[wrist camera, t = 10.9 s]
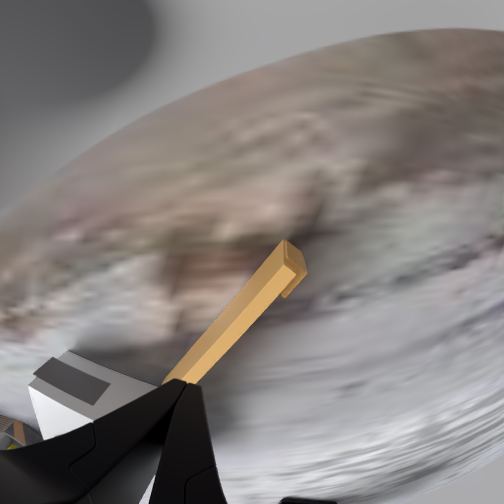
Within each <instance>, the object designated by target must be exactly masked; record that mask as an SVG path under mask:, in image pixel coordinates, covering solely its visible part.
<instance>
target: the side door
mask: <svg viewBox="0 0 504 504" xmlns="http://www.w3.org/2000/svg"><path fill="white" fill-rule="evenodd" d="M307 273H308V272H307V268H306V264H305V260H304V257H303V253H302V252H301V251H300V250H298V249H297V248H296V247H295V246H293V245H292V244H291V243H290V242H289V241H287V240H286V241H285V240H284V239H283V240H282V241H281V243H280V244H279V245H278V246H277V247H276V248H275V250H274V251H273V252H272V253H271V254H270V256H269V257H268V258H267V259H266V260H265V262H264V263H263V264H262V265H261V266H260V268H259V269H258V270H257V271H256V272H255V273H254V275H253V276H252V277H251V278H250V279H249V281H248V282H247V283H246V284H245V285H244V287H243V288H242V289H241V290H240V291H239V292H238V294H237V295H236V296H235V297H234V298H233V299H232V301H231V302H230V303H229V304H228V305H227V307H226V308H225V309H224V310H223V311H222V312H221V314H220V315H219V316H218V317H217V318H216V319H215V321H214V322H213V323H212V324H211V325H210V326H209V328H208V329H207V330H206V331H205V332H204V333H203V335H202V336H201V337H200V338H199V339H198V340H197V342H196V343H195V344H194V345H193V346H192V347H191V348H190V350H189V351H188V352H187V353H186V354H185V355H184V357H183V358H182V359H181V360H180V361H179V362H178V364H177V365H176V366H175V367H174V368H173V369H172V370H171V372H170V373H169V374H168V375H167V376H166V377H165V379H164V381H163V382H162V384H164V383H166V382H168V381H170V380H171V379H173V378H177V379H180V380H184V381H186V382H187V384H188V383H193V384H196V383H197V382H198V381H199V380H200V379H201V378H202V377H203V376H204V375H205V374H206V372H207V371H208V370H209V369H210V368H211V367H212V366H213V365H214V364H215V363H216V362H217V361H218V360H219V359H220V358H221V357H222V356H223V355H224V354H225V353H226V352H227V350H228V349H229V348H230V347H231V346H232V345H233V344H234V343H235V342H236V341H237V340H238V339H239V338H240V337H241V336H242V334H243V333H244V332H245V331H246V330H247V329H248V328H249V327H250V326H251V325H252V324H253V323H254V321H255V320H256V319H257V318H258V317H259V316H260V315H261V314H262V313H263V312H264V310H265V309H266V308H267V307H268V306H269V305H270V304H271V303H272V302H273V301H274V299H275V298H276V297H277V296H278V295H279V294H280V295H281V296H282V297H283V298H286V297H287V296H288V295H289V294H290V292H291V291H292V290H293V289H294V288H295V287H296V286H297V285H298V284H299V282H300V281H301V280H302V279H303V278H304V277H305V276H306V274H307ZM162 384H161V385H162Z"/></svg>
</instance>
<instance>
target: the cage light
mask: <svg viewBox="0 0 504 504" xmlns="http://www.w3.org/2000/svg"><path fill="white" fill-rule="evenodd" d="M43 440H44V439H43V436H42V435H41V434H39V433H38V432H37V431H35V430H34V429H32V428H30V427H29V426H27V425H26V424H24V423H22V422H20V421H17V420H15V419H12V418H8V417H5V416H2V415H0V450H7V449H14V448H18V447H22V446H26V445H29V444H33V443H36V442H40V441H43Z"/></svg>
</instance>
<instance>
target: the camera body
mask: <svg viewBox="0 0 504 504" xmlns="http://www.w3.org/2000/svg"><path fill="white" fill-rule="evenodd" d="M33 375H34V376H36V378H35V379H34V380H33V381H32V382H31V383H30V384H29V385H28V387H29V392H30V396H31V399H32V403H33V407H34V410H35V414H36V417H37V421H38V424H39V427H40V430H41V433H42V436H43V439H44V440H46V439H50V438H53V437H56V436H59V435H62V434H64V433H67V432H70V431H72V430H74V429H76V428H79V427H81V426H83V425H85V424H87V423H89V422H92V423H93V421H94V420H96V419H98V418H100V417H102V416H104V415H106V414H108V413H110V412H112V411H114V410H116V409H117V408H119V407H121V406H123V405H125V404H127V403H129V402H131V401H133V400H135V399H137V398H138V397H140V396H142V395H144V394H146V393H148V392H150V391H151V390H153V389H155V388H157V386H154V385H151V384H148V383H145V382H142V381H140V380H137V379H134V378H131V377H129V376H126V375H124V374H121V373H118V372H116V371H113V370H111V369H108V368H106V367H104V366H101V365H99V364H96V363H94V362H92V361H89V360H87V359H85V358H83V357H80V356H78V355H76V354H74V353H72V352H69V351H66V352H65V353H64V354H63V355H62V356H60V357H59V358H58V359H56V358H54V357H52V358H51V359H50V360H48V361H47V362H46V363H45V364H44V365H43V366H41V367H40V368H39V369H38V370H37V371H36V372H34V373H33ZM156 472H157V471H156ZM155 475H156V473H155Z"/></svg>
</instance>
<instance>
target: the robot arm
mask: <svg viewBox="0 0 504 504" xmlns="http://www.w3.org/2000/svg"><path fill="white" fill-rule="evenodd" d="M156 471H157V472H156ZM155 473H156V476H155V480H154V484H153V488H152V492H151V496H150V500H149V504H228V503H227V501H226V498H225V496H224V493H223V490H222V486H221V483H220V479H219V475H218V470H217V467H216V462H215V457H214V452H213V447H212V442H211V437H210V431H209V426H208V420H207V415H206V409H205V403H204V398H203V392H202V387H201V386H200V385H197V384H193V383H188V384H187V382H186V381H184V380H180V379H177V378H173V379H171V380H170V381H168V382H166V383H164V384H162V385H161V386H159V387H157V388H155V389H153V390H151V391H150V392H148V393H146V394H144V395H142V396H140V397H138V398H137V399H135V400H133V401H131V402H129V403H127V404H125V405H123V406H121V407H119V408H117V409H116V410H114V411H112V412H110V413H108V414H106V415H104V416H102V417H100V418H98V419H96V420H94V421H93V423H92V422H89V423H87V424H85V425H83V426H81V427H79V428H76V429H74V430H72V431H70V432H67V433H64V434H62V435H59V436H56V437H53V438H50V439H46V440H43V441H40V442H36V443H33V444H29V445H26V446H22V447H18V448H14V449H7V450H0V504H139V502H140V500H141V499H142V497H143V495H144V493H145V491H146V489H147V488H148V486H149V484H150V482H151V480H152V478H153V477H154V475H155ZM279 504H337V503H336V502H317V501H303V500H293V499H282V500H281V501H280V502H279Z"/></svg>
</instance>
